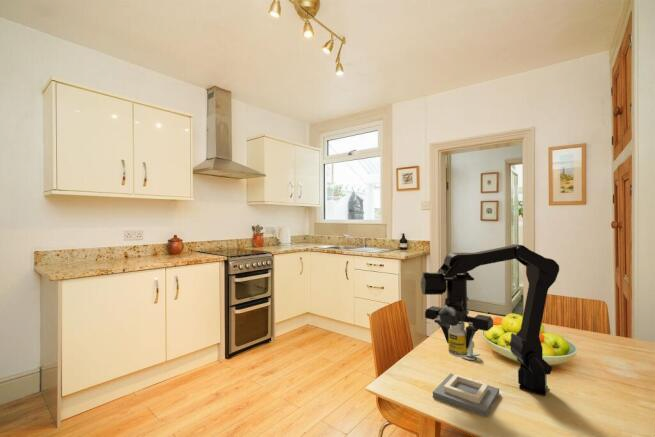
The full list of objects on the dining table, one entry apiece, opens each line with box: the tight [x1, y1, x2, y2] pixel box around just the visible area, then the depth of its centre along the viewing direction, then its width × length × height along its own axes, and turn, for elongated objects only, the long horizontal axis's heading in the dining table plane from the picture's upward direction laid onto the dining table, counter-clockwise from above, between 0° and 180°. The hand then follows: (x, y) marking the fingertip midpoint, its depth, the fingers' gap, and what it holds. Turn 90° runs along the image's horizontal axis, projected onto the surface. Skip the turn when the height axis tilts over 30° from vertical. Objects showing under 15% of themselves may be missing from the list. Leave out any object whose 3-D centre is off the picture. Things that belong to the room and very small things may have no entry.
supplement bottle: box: [447, 322, 468, 358], centre depth 94 cm, size 5×5×10 cm
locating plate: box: [432, 372, 500, 418], centre depth 88 cm, size 14×14×3 cm
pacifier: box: [461, 340, 481, 361], centre depth 114 cm, size 7×6×6 cm
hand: (458, 345), depth 94 cm, fingers closed on supplement bottle, 5 cm apart
